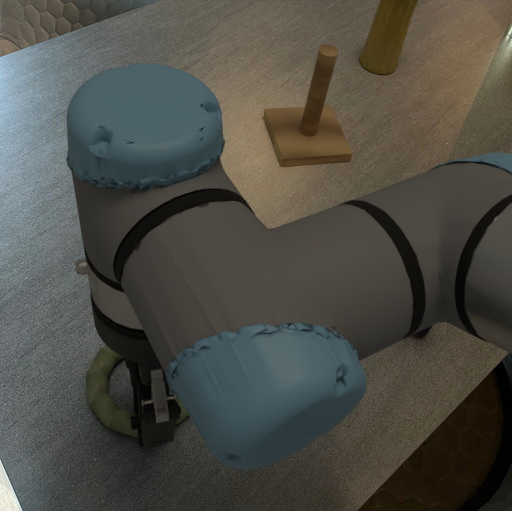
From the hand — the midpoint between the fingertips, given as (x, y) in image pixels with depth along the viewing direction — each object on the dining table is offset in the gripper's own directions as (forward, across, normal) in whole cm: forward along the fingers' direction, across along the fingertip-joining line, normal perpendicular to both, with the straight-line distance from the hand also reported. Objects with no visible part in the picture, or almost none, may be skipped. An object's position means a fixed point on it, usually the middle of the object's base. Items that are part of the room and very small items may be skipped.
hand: (150, 425), depth 60 cm
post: (0, -38, +27) cm, 46 cm away
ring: (-1, -4, 0) cm, 4 cm away
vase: (0, -54, +44) cm, 69 cm away
